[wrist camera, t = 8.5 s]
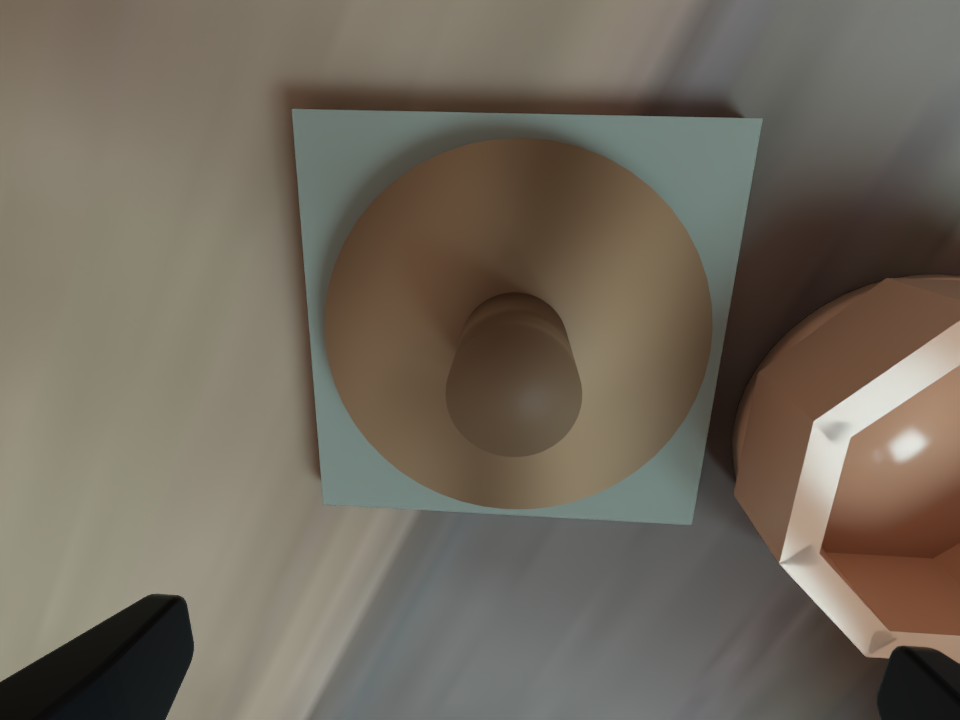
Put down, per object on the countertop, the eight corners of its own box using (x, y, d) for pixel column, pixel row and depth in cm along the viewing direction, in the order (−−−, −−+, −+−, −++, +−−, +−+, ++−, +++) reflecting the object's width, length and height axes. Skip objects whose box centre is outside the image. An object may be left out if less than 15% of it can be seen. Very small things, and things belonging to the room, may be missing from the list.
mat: (748, 121, 16) (762, 118, 15) (683, 508, 20) (691, 525, 19) (304, 111, 17) (291, 108, 16) (331, 489, 21) (323, 504, 20)
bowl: (1122, 280, 17) (1325, 318, 13) (1006, 568, 20) (1134, 674, 16) (763, 268, 17) (842, 301, 13) (709, 551, 21) (758, 649, 17)
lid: (734, 143, 15) (824, 135, 11) (675, 505, 19) (724, 609, 15) (319, 134, 16) (242, 122, 12) (343, 487, 20) (291, 582, 15)
